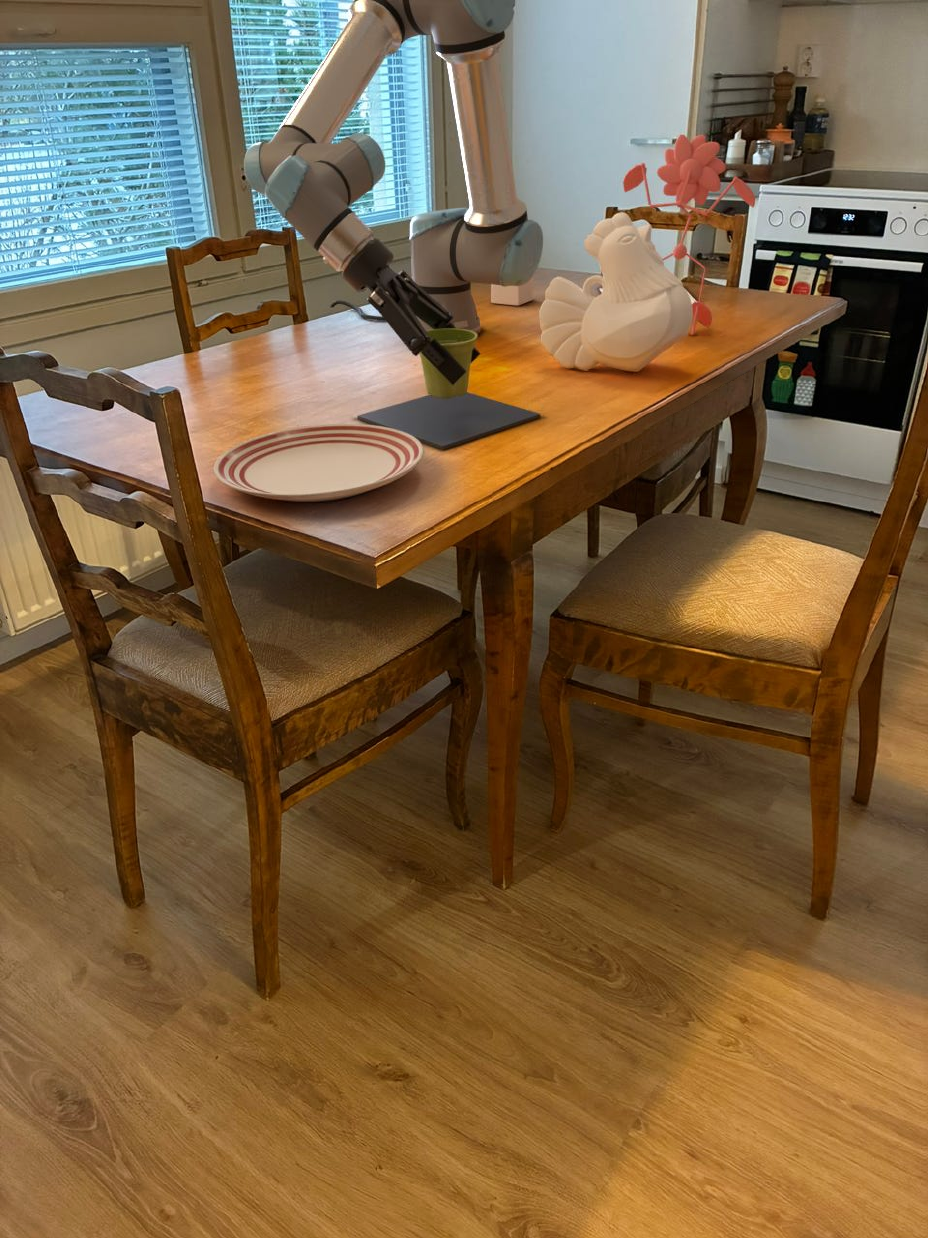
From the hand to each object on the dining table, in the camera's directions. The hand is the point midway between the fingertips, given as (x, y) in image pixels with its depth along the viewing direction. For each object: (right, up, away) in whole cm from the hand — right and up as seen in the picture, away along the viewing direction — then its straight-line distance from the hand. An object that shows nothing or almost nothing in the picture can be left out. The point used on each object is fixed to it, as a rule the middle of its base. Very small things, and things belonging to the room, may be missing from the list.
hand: (467, 368), depth 143 cm
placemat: (-3, -6, +5) cm, 8 cm away
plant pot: (-3, -3, +3) cm, 5 cm away
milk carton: (+11, +35, +76) cm, 85 cm away
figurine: (+43, +22, +53) cm, 72 cm away
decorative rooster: (+26, +7, +27) cm, 38 cm away
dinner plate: (-19, -19, -15) cm, 31 cm away
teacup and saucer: (+42, +37, +78) cm, 96 cm away
